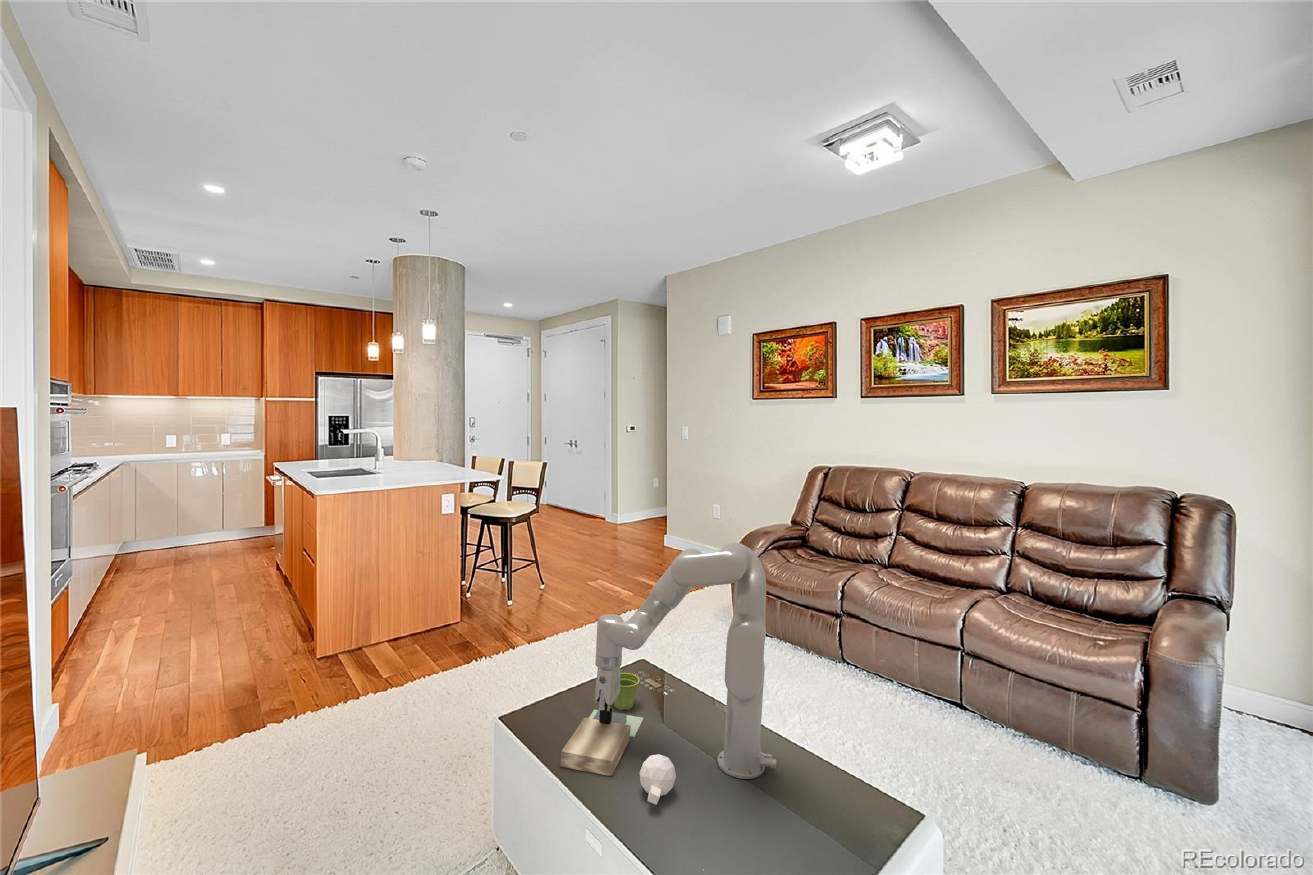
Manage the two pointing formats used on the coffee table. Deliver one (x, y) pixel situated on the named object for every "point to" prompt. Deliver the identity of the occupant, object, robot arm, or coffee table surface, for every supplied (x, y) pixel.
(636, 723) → the mat
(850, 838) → the coffee table surface
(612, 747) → the light wood flat block
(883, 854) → the coffee table surface
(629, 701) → the plant pot
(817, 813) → the coffee table surface
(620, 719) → the grey rectangular block
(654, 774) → the perfume bottle
